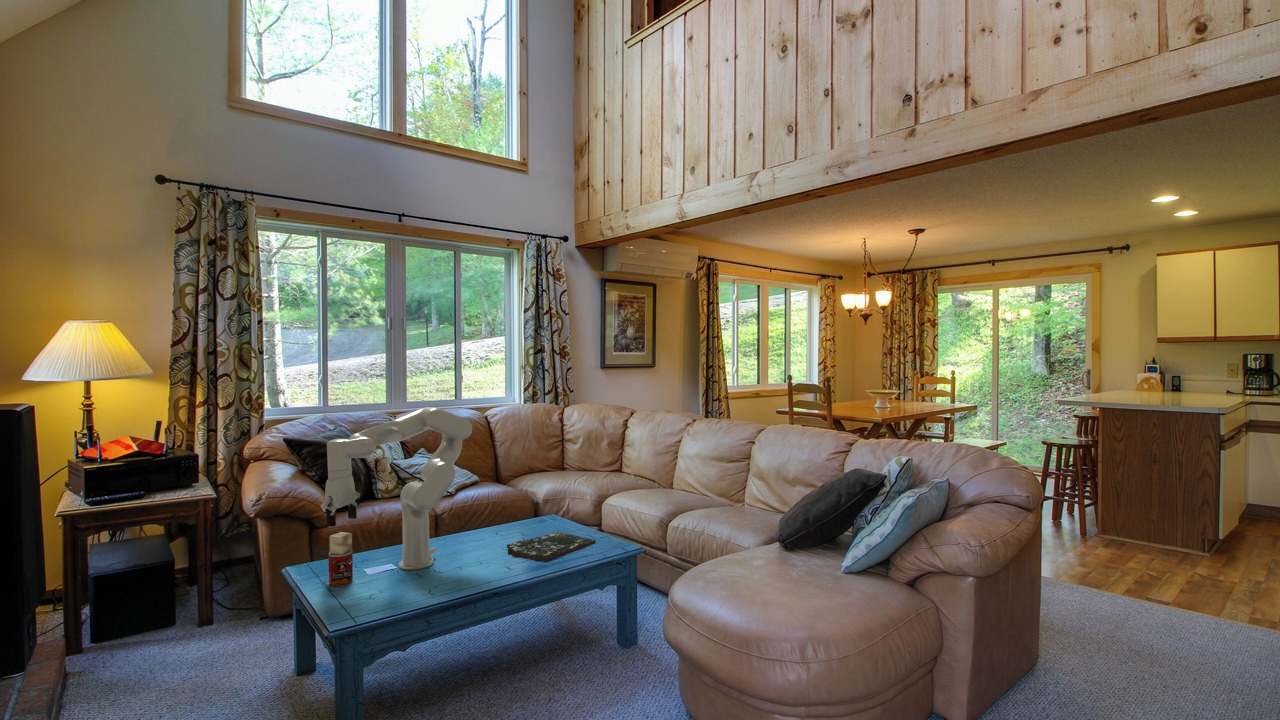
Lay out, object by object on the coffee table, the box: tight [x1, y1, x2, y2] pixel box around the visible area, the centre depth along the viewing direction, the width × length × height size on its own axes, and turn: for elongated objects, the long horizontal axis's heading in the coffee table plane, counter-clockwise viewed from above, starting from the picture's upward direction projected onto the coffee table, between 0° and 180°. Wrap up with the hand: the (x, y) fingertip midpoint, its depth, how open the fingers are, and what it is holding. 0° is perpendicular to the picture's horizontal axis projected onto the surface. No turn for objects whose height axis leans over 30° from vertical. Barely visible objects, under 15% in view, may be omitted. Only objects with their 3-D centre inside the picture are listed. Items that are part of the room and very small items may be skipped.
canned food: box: [328, 549, 354, 587], centre depth 214 cm, size 8×8×11 cm
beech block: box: [329, 531, 353, 554], centre depth 214 cm, size 5×5×6 cm
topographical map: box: [506, 531, 597, 563], centre depth 253 cm, size 26×33×3 cm
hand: (342, 522), depth 215 cm, fingers open, 9 cm apart
